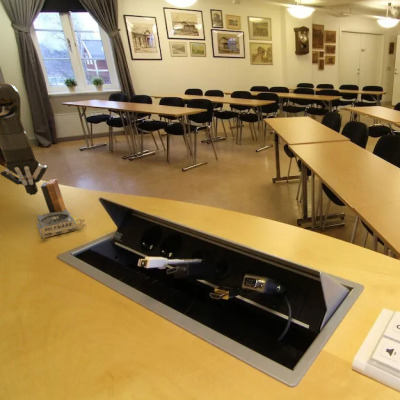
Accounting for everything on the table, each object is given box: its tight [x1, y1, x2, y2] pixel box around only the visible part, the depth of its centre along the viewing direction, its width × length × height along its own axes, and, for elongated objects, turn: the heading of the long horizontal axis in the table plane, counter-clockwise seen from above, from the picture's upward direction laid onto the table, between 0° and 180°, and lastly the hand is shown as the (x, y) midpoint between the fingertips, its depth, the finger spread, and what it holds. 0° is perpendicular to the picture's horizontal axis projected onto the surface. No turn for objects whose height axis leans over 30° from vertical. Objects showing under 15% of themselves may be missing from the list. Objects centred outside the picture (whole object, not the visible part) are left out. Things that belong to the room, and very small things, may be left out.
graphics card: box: [36, 209, 87, 241], centre depth 111 cm, size 17×4×12 cm
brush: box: [40, 178, 67, 213], centre depth 118 cm, size 4×6×13 cm
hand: (33, 194), depth 114 cm, fingers closed
